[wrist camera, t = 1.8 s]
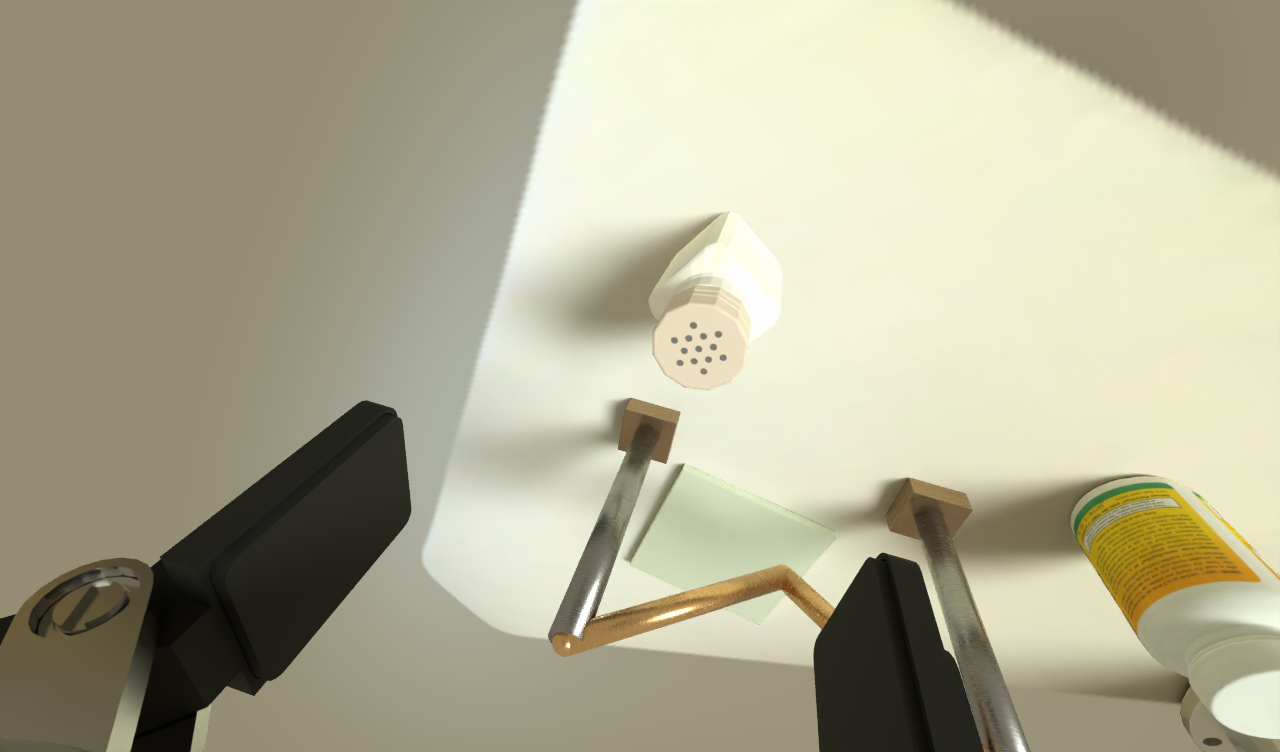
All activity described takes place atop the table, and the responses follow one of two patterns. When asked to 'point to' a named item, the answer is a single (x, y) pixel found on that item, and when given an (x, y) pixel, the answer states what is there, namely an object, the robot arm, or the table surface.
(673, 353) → the salt shaker
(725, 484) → the mat
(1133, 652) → the table surface
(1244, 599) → the supplement bottle
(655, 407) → the wire hurdle
